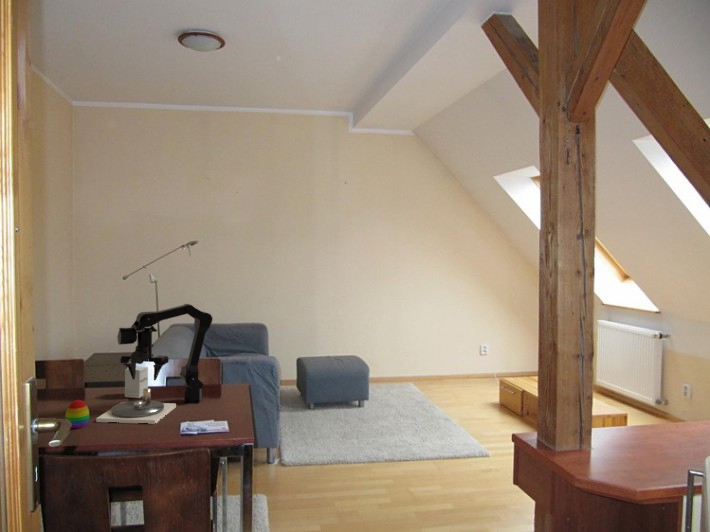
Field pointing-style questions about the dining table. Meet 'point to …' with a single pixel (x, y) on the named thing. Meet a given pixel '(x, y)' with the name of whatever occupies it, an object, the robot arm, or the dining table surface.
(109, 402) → the dining table surface
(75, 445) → the dining table surface
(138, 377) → the supplement box
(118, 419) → the base plate
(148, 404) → the handwheel
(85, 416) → the decorative egg
